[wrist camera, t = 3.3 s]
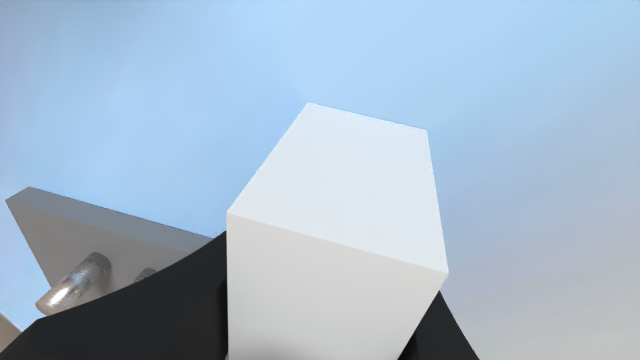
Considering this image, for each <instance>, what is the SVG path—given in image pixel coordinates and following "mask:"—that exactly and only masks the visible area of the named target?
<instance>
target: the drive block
mask: <svg viewBox="0 0 640 360" xmlns="http://www.w3.org/2000/svg"><path fill="white" fill-rule="evenodd" d="M226 230H227V288H228V346H229V360H397V359H398V358H399V356H400V354H401V353H402V351H403V349H404V348H405V346H406V344H407V343H408V341H409V339H410V338H411V336H412V334H413V333H414V331H415V329H416V328H417V326H418V324H419V323H420V321H421V319H422V318H423V316H424V314H425V313H426V311H427V309H428V308H429V306H430V304H431V303H432V301H433V299H434V298H435V296H436V294H437V293H438V291H439V289H440V288H441V286H442V284H443V283H444V281H445V279H446V278H447V276H448V274H449V271H448V265H447V258H446V252H445V245H444V239H443V233H442V226H441V220H440V213H439V207H438V200H437V194H436V188H435V181H434V175H433V168H432V162H431V155H430V149H429V142H428V136H427V130H424V129H419V128H415V127H411V126H407V125H402V124H398V123H394V122H390V121H385V120H381V119H377V118H373V117H368V116H364V115H360V114H356V113H351V112H347V111H343V110H339V109H334V108H330V107H326V106H322V105H317V104H313V103H309V102H308V103H307V104H306V106H305V107H304V108H303V110H302V111H301V112H300V114H299V115H298V116H297V118H296V119H295V120H294V122H293V123H292V124H291V126H290V127H289V128H288V130H287V131H286V133H285V134H284V135H283V137H282V138H281V139H280V141H279V142H278V143H277V145H276V146H275V147H274V149H273V150H272V151H271V153H270V154H269V155H268V157H267V158H266V160H265V161H264V162H263V164H262V165H261V166H260V168H259V169H258V170H257V172H256V173H255V174H254V176H253V177H252V178H251V180H250V181H249V182H248V184H247V185H246V187H245V188H244V189H243V191H242V192H241V193H240V195H239V196H238V197H237V199H236V200H235V201H234V203H233V204H232V205H231V207H230V208H229V209H228V211H227V212H226Z"/></svg>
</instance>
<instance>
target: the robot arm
mask: <svg viewBox="0 0 640 360" xmlns="http://www.w3.org/2000/svg"><path fill="white" fill-rule="evenodd" d="M228 351H229V346H228V288H227V230H226V231H224V232H223V233H222V234H220V235H219V236H217V237H216V238H214V239H213V240H211V241H210V242H208V243H207V244H205V245H204V246H202V247H201V248H199V249H198V250H196V251H194V252H193V253H191V254H189V255H188V256H186V257H184V258H183V259H181V260H179V261H177V262H175V263H174V264H172V265H170V266H168V267H166V268H164V269H162V270H160V271H158V272H156V273H154V274H152V275H150V276H148V277H146V278H144V279H142V280H140V281H138V282H136V283H133V284H131V285H129V286H126V287H124V288H121V289H119V290H117V291H114V292H112V293H110V294H107V295H105V296H102V297H100V298H97V299H95V300H92V301H90V302H87V303H84V304H81V305H78V306H75V307H73V308H70V309H67V310H64V311H61V312H58V313H55V314H52V315H50V316H46V317H43V318H40V319H37V320H36V321H35V322H34V323H33V324H31V325H30V326H29V327H28V328H27V329H26V330H24V331H23V332H22V333H21V334H20V335H19V336H18V337H17V338H16V339H15V340H14V341H13V342H12V343H10V344H9V345H8V346H7V347H6V348H5V349H4V350H3V351H2V352H1V353H0V360H225V358H226V356H227V353H228ZM397 360H479V358H478V357H477V355H476V354H475V352H474V351H473V349H472V347H471V346H470V344H469V343H468V341H467V340H466V338H465V336H464V335H463V333H462V331H461V329H460V328H459V326H458V324H457V323H456V321H455V319H454V317H453V315H452V314H451V312H450V310H449V308H448V306H447V304H446V302H445V300H444V298H443V296H442V294H441V292H440V290H439V291H438V293H437V294H436V296H435V298H434V299H433V301H432V303H431V304H430V306H429V308H428V309H427V311H426V313H425V314H424V316H423V318H422V319H421V321H420V323H419V324H418V326H417V328H416V329H415V331H414V333H413V334H412V336H411V338H410V339H409V341H408V343H407V344H406V346H405V348H404V349H403V351H402V353H401V354H400V356H399V358H398V359H397Z"/></svg>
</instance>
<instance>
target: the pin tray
mask: <svg viewBox="0 0 640 360" xmlns="http://www.w3.org/2000/svg"><path fill="white" fill-rule="evenodd" d="M5 201H6V203H7V205H8V207H9V209H10V211H11V213H12V215H13V216H14V218H15V220H16V222H17V224H18V226H19V228H20V230H21V232H22V233H23V235H24V237H25V239H26V241H27V243H28V245H29V247H30V248H31V250H32V252H33V254H34V256H35V258H36V260H37V262H38V264H39V265H40V267H41V269H42V271H43V273H44V275H45V277H46V279H47V281H48V282H49V284H50V286H51V288H52V289H50V290H49V291H48V292H47V293H46V294H45V295H44V296H43V297H42V298H40V299H39V300H38V301H37V302H36V303H35V305H36V307H37V309H38V310H39V311H41V312H42V313H43V314H45V315H46V316H50V315H52V314H55V313H58V312H61V311H64V310H67V309H70V308H73V307H75V306H78V305H81V304H84V303H87V302H90V301H92V300H95V299H97V298H100V297H102V296H105V295H107V294H110V293H112V292H114V291H117V290H119V289H121V288H124V287H126V286H129V285H131V284H133V283H136V282H138V281H140V280H142V279H144V278H146V277H148V276H150V275H152V274H154V273H156V272H158V271H160V270H162V269H164V268H166V267H168V266H170V265H172V264H174V263H175V262H177V261H179V260H181V259H183V258H184V257H186V256H188V255H189V254H191V253H193V252H194V251H196V250H198V249H199V248H201V247H202V246H204V245H205V244H207V243H208V242H210V241H211V240H213V239H212V238H208V237H205V236H201V235H197V234H194V233H190V232H187V231H183V230H180V229H176V228H173V227H169V226H166V225H162V224H159V223H155V222H151V221H148V220H144V219H141V218H137V217H134V216H130V215H127V214H123V213H120V212H116V211H113V210H109V209H106V208H102V207H98V206H95V205H91V204H88V203H84V202H81V201H77V200H74V199H70V198H67V197H63V196H60V195H56V194H52V193H49V192H45V191H42V190H38V189H35V188H31V187H27V188H26V189H24V190H22V191H20V192H19V193H17V194H15V195H13V196H12V197H10V198H8V199H6V200H5ZM225 360H229V351H228V353H227V356H226V358H225Z"/></svg>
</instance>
